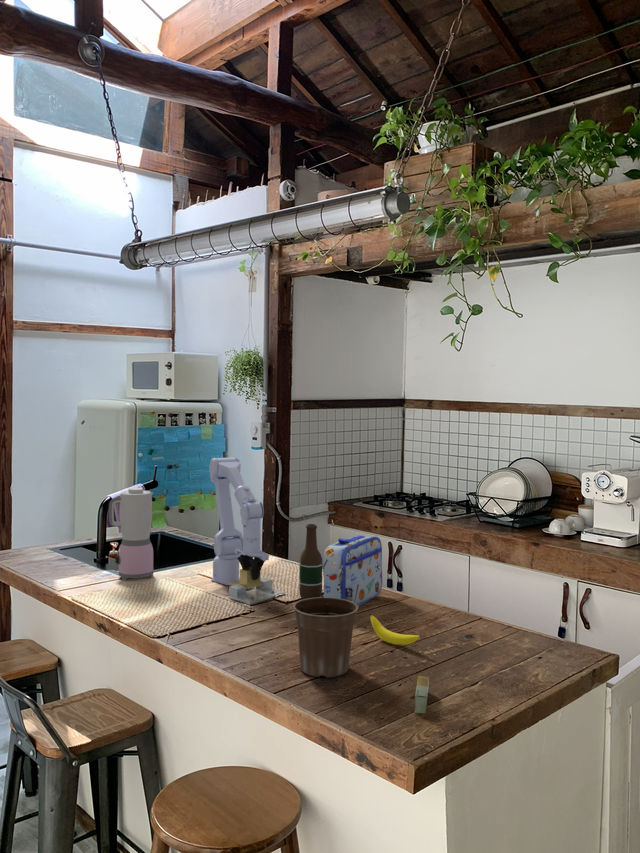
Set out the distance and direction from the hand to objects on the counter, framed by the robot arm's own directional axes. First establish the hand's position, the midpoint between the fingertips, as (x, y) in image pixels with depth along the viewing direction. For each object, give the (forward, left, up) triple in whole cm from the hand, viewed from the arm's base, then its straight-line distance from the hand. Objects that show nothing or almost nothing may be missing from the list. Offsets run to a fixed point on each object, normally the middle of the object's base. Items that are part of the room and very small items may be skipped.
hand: (251, 578), depth 249 cm
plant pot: (+60, -30, -6) cm, 67 cm away
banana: (+62, -4, -6) cm, 62 cm away
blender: (-46, -16, -6) cm, 49 cm away
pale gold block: (-3, 0, -3) cm, 4 cm away
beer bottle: (+15, +13, -6) cm, 21 cm away
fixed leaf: (+3, 0, -6) cm, 6 cm away
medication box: (+88, -29, -6) cm, 93 cm away
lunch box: (+30, +17, -6) cm, 35 cm away
